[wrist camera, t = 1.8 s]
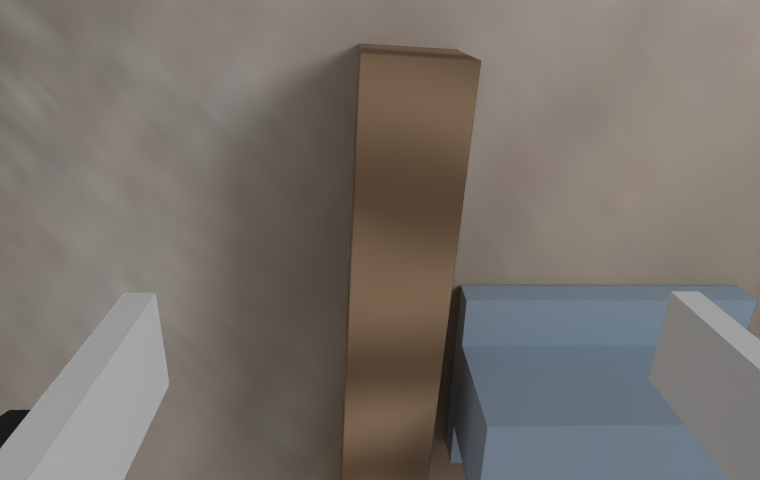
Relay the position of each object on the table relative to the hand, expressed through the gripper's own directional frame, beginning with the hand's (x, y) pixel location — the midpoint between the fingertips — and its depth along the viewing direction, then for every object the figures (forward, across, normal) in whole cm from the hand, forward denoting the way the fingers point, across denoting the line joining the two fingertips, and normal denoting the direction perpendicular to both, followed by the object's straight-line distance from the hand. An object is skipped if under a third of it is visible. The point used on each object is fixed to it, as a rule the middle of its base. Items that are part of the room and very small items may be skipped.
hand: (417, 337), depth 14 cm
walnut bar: (+12, 0, -6) cm, 13 cm away
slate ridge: (+12, +11, -10) cm, 19 cm away
